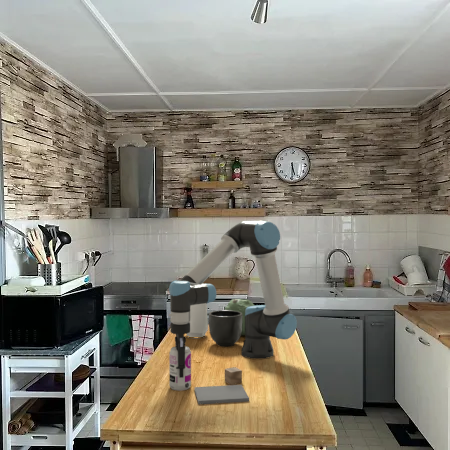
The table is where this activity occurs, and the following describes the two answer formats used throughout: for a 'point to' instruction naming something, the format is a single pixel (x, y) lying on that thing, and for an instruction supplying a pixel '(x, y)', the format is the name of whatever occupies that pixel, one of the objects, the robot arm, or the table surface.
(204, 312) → the vase
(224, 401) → the slate board
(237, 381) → the walnut block
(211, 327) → the planter
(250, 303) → the cabbage
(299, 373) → the table surface
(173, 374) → the supplement can
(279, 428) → the table surface
